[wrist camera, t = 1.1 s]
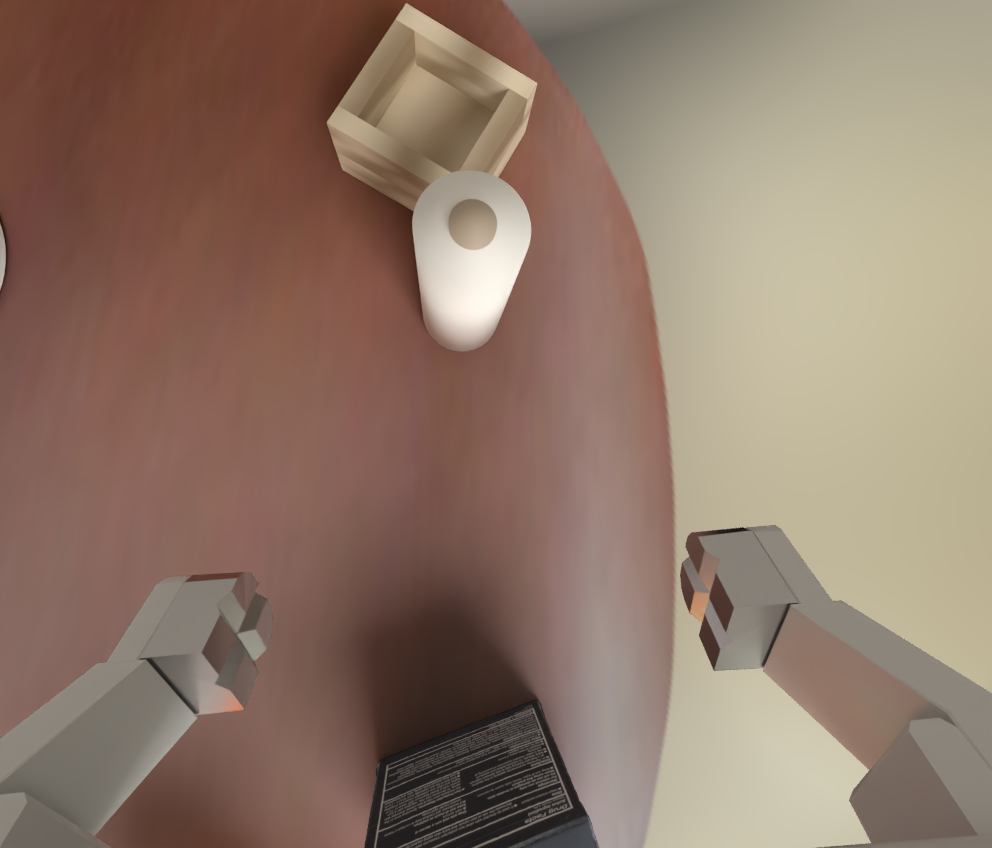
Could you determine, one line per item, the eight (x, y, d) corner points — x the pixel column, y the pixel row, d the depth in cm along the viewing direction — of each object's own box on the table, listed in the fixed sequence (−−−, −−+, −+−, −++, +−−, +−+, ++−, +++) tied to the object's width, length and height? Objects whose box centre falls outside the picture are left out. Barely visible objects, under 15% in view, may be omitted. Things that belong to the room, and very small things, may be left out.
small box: (406, 866, 29) (387, 1086, 19) (375, 758, 30) (339, 917, 19) (570, 797, 31) (637, 966, 20) (539, 695, 31) (588, 810, 21)
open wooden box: (342, 169, 32) (326, 122, 28) (410, 64, 34) (406, 3, 29) (461, 239, 33) (464, 204, 28) (524, 133, 34) (537, 83, 30)
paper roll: (408, 327, 32) (388, 241, 20) (446, 264, 33) (449, 142, 20) (475, 365, 32) (496, 303, 20) (511, 302, 33) (553, 204, 21)
